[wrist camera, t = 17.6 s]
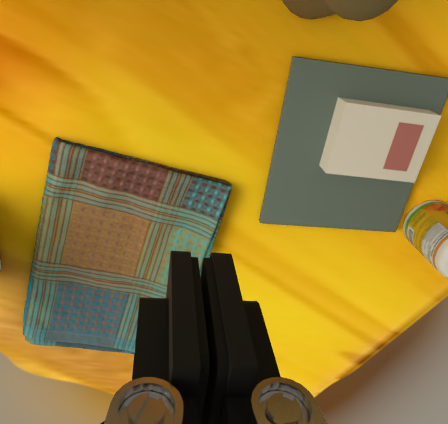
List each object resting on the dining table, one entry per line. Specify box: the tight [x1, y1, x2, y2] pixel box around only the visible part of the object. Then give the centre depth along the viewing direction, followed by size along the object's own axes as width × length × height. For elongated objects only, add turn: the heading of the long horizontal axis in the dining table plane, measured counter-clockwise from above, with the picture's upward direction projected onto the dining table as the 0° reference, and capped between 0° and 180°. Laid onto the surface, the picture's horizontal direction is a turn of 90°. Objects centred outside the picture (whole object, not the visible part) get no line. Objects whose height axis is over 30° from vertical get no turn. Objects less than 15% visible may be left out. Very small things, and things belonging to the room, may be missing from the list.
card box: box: [319, 97, 441, 183], centre depth 38 cm, size 6×2×9 cm
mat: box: [259, 56, 448, 232], centre depth 40 cm, size 16×15×1 cm
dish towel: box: [23, 137, 231, 354], centre depth 42 cm, size 17×23×2 cm
